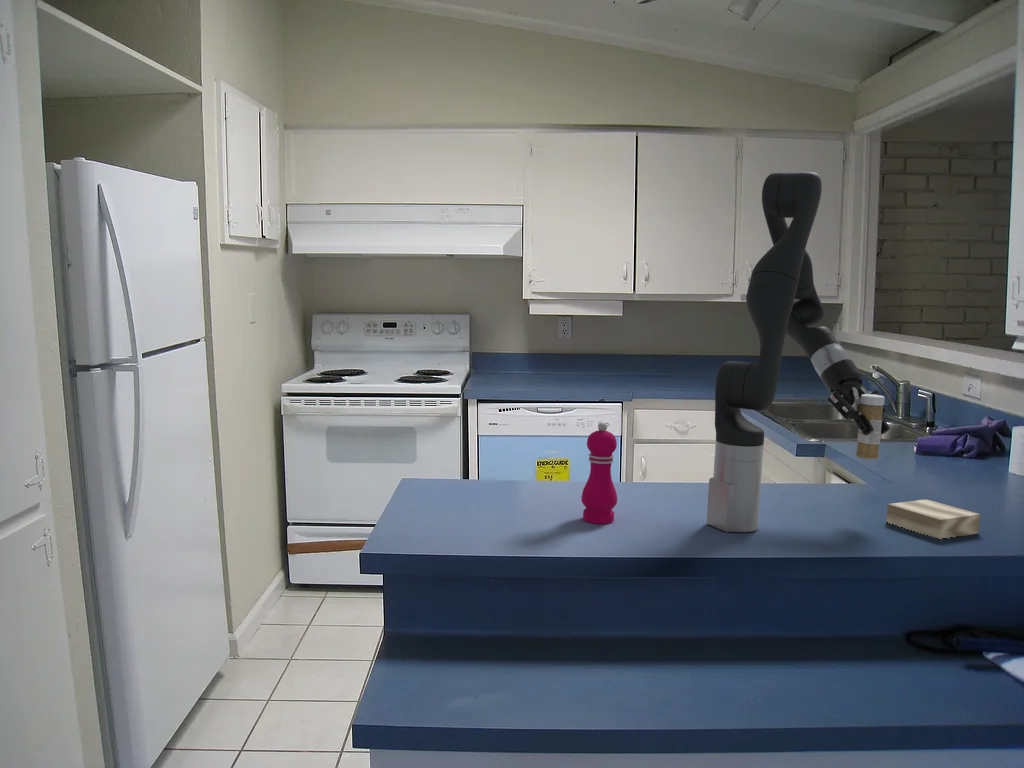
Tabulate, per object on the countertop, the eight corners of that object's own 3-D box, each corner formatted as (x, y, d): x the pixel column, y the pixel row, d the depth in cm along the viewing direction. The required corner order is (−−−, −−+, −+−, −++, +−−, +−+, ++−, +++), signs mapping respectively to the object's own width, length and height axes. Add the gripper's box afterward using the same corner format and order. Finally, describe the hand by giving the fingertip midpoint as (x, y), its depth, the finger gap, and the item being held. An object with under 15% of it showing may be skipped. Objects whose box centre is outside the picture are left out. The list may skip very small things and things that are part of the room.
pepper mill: (574, 516, 159) (578, 420, 156) (605, 513, 161) (610, 419, 159) (590, 526, 152) (594, 426, 150) (622, 523, 155) (627, 425, 152)
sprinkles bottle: (851, 455, 165) (856, 393, 164) (871, 455, 166) (876, 393, 164) (863, 460, 161) (868, 396, 159) (883, 460, 161) (889, 396, 160)
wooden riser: (938, 539, 150) (940, 519, 150) (886, 522, 161) (887, 504, 161) (978, 533, 156) (980, 514, 155) (924, 517, 166) (926, 499, 166)
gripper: (823, 358, 164) (866, 423, 155) (869, 357, 171) (913, 420, 161) (802, 379, 170) (842, 444, 160) (847, 378, 176) (889, 440, 167)
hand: (877, 432), depth 161 cm, fingers closed on sprinkles bottle, 4 cm apart
